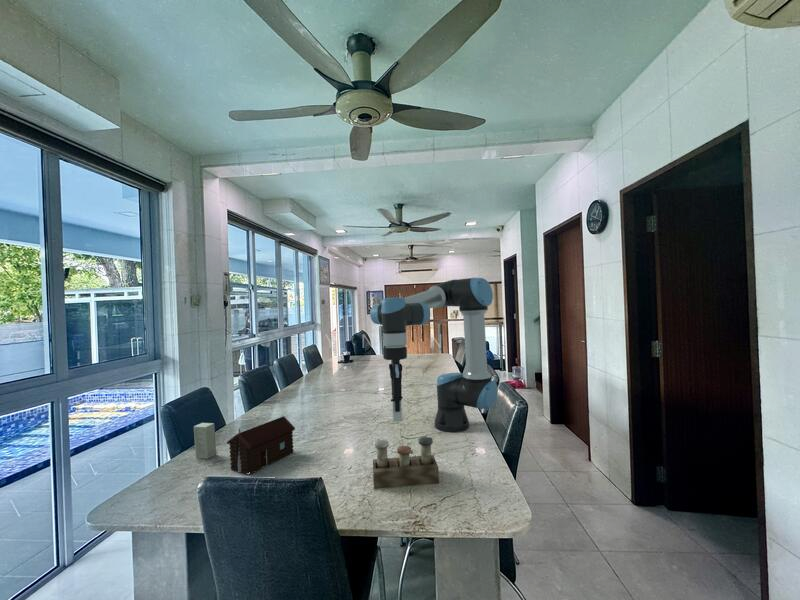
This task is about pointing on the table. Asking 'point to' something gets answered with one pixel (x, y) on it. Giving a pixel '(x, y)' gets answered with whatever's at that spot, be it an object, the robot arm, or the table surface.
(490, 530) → the table surface
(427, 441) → the plug charcoal
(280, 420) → the model building
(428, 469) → the socket block
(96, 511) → the table surface
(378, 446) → the plug cream
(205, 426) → the skincare box
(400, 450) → the plug terracotta
